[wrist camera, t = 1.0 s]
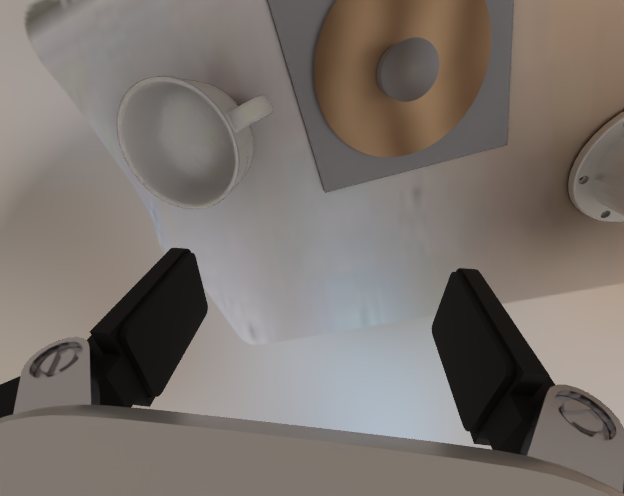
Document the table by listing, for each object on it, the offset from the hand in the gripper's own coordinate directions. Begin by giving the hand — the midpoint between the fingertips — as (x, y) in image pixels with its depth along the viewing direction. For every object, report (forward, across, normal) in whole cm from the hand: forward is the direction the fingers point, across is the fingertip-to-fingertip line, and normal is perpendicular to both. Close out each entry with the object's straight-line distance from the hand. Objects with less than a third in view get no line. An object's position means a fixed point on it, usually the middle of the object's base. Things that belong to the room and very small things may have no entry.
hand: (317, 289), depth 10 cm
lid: (+23, -5, -7) cm, 25 cm away
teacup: (+23, +12, -1) cm, 26 cm away
